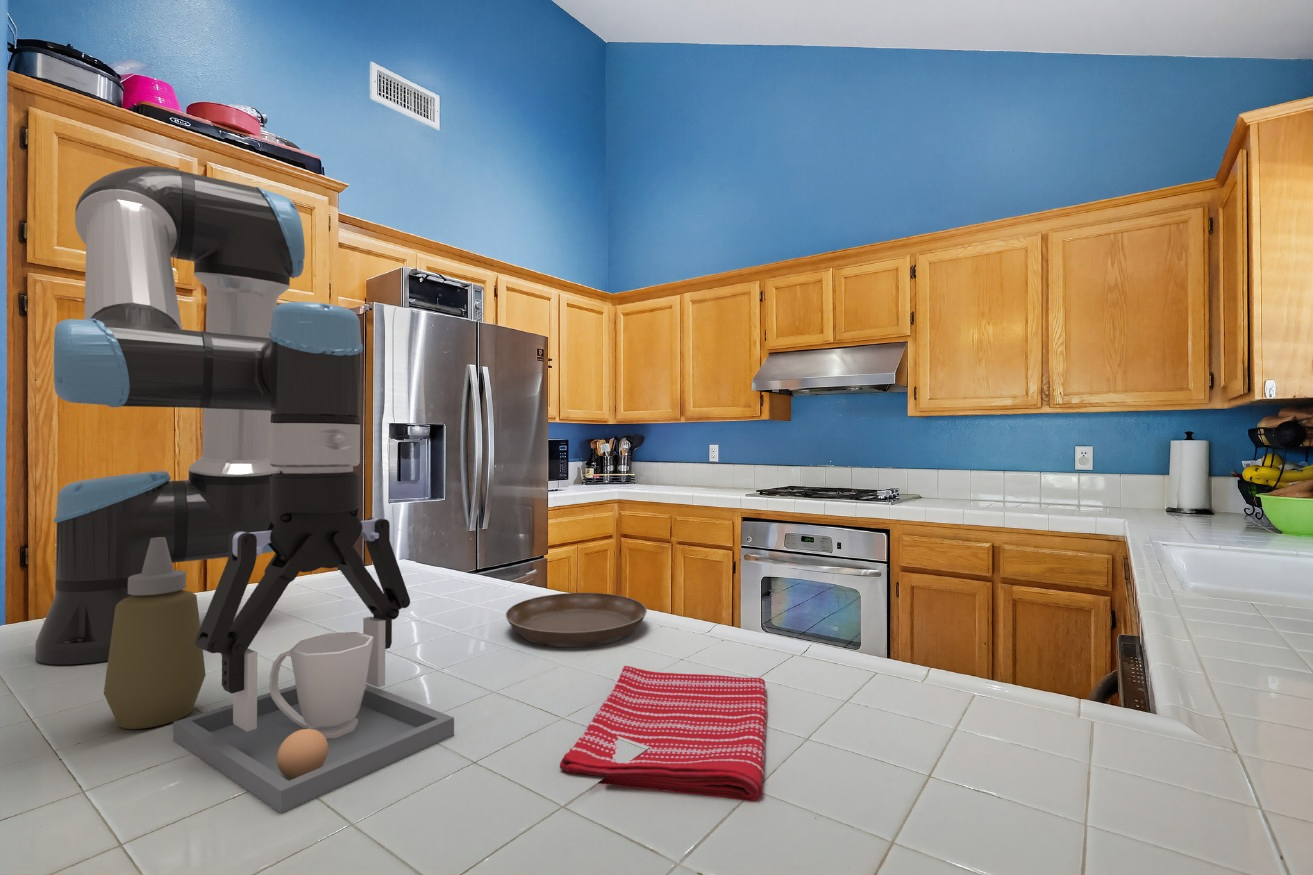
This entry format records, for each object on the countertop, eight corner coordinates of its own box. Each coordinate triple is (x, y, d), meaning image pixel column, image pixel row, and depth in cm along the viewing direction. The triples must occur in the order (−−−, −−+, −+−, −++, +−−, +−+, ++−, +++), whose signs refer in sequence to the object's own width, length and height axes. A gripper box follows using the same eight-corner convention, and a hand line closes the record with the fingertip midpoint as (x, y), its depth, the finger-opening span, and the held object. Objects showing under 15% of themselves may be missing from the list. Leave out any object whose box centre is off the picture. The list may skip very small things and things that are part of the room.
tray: (173, 748, 57) (173, 721, 57) (337, 694, 69) (337, 672, 69) (280, 824, 46) (280, 791, 46) (454, 743, 58) (454, 717, 58)
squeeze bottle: (224, 707, 66) (226, 534, 66) (139, 742, 58) (141, 546, 58) (170, 697, 69) (172, 531, 69) (82, 729, 61) (84, 541, 61)
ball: (268, 778, 50) (268, 733, 50) (313, 760, 53) (314, 717, 53) (290, 793, 48) (290, 745, 48) (336, 772, 51) (337, 728, 51)
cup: (341, 749, 55) (341, 656, 55) (241, 740, 57) (242, 650, 57) (388, 715, 62) (389, 633, 62) (298, 708, 64) (299, 627, 64)
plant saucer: (644, 654, 84) (644, 629, 84) (488, 653, 84) (488, 628, 84) (648, 612, 104) (648, 592, 104) (523, 612, 105) (523, 592, 105)
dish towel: (550, 790, 51) (550, 757, 51) (620, 682, 74) (620, 659, 74) (764, 813, 48) (764, 778, 48) (767, 693, 71) (767, 669, 71)
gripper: (184, 476, 48) (181, 766, 48) (446, 467, 67) (445, 673, 67) (148, 473, 52) (145, 740, 52) (404, 465, 72) (403, 660, 71)
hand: (314, 703), depth 59 cm, fingers open, 11 cm apart
